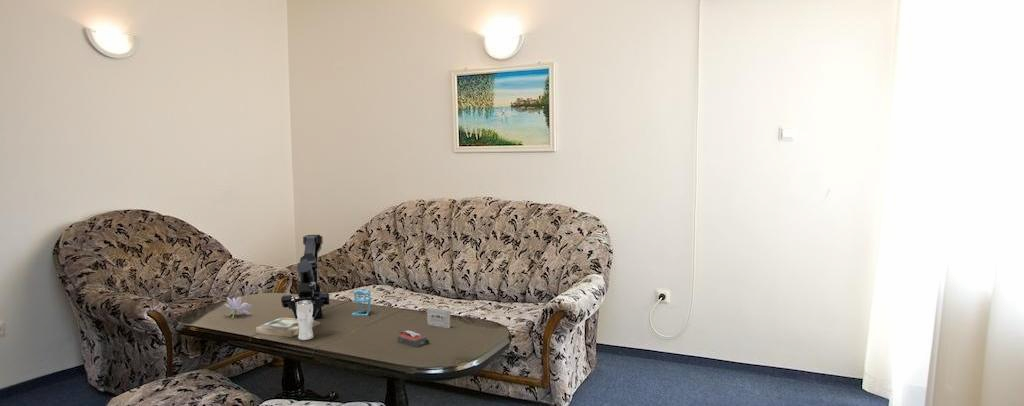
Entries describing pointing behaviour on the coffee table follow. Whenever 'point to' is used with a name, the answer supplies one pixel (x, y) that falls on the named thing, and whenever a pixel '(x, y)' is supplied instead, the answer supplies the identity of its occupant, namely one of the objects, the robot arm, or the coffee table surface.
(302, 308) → the beer glass
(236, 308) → the water lily
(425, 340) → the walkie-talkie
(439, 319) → the cassette
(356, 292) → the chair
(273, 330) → the dock
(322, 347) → the coffee table surface
